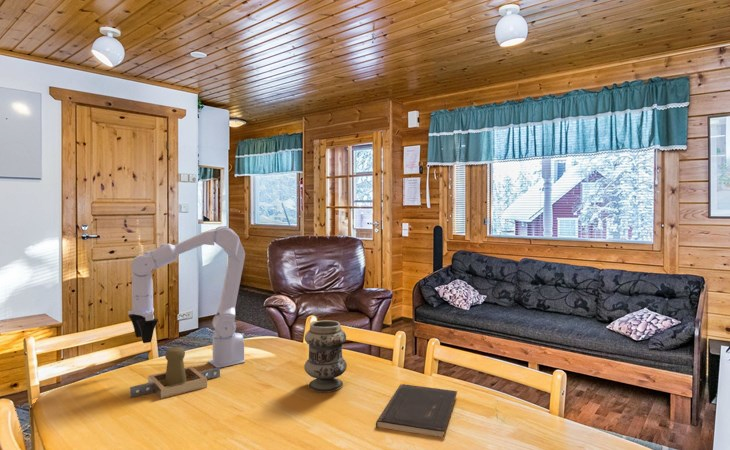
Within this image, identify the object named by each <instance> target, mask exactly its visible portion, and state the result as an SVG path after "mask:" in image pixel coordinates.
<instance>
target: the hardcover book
mask: <svg viewBox="0 0 730 450" xmlns="http://www.w3.org/2000/svg"><path fill="white" fill-rule="evenodd" d="M457 395H458V391H457V390H451V389H443V388H435V387H429V386H420V385H413V384H412V385H411V384H405V383H404V384H403V383H400V384H399V386H398V387H397V389H396V390H395V392H394V394H393V395H392V397H391V398H390V400H389V401H388V403H387V404H386V406H385V407H384V410H382V412H381V414H380V415H379V416H378V418H377V420H376V422H375V428H382V429H389V430H395V431H402V432H408V433H413V434H420V435H426V436H431V435H434V436H433V437H437V436H442V437H441V438H444V436H445V433H444V432H446V429H447V426H448V423H449V420H450V417H451V413H452V411H453V407H454V404H455V400H456V397H457ZM451 410H452V411H451ZM443 435H444V436H443Z"/></svg>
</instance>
